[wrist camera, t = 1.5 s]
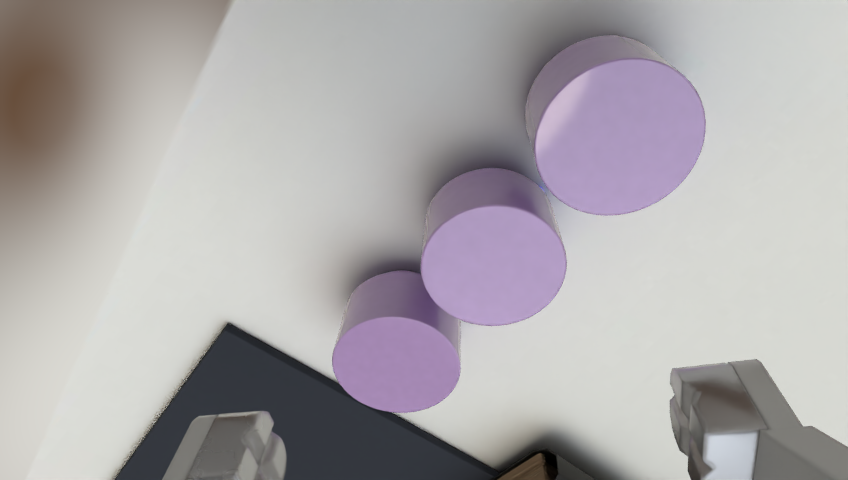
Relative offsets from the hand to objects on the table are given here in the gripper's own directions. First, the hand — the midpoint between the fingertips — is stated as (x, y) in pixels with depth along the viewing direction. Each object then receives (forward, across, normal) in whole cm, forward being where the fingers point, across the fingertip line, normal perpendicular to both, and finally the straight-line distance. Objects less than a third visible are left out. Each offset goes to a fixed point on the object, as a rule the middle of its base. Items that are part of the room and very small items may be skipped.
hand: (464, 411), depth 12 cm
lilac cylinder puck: (+16, 0, +4) cm, 17 cm away
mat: (+16, +17, +25) cm, 35 cm away
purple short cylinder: (+16, +5, +9) cm, 19 cm away
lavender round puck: (+16, -6, 0) cm, 17 cm away
